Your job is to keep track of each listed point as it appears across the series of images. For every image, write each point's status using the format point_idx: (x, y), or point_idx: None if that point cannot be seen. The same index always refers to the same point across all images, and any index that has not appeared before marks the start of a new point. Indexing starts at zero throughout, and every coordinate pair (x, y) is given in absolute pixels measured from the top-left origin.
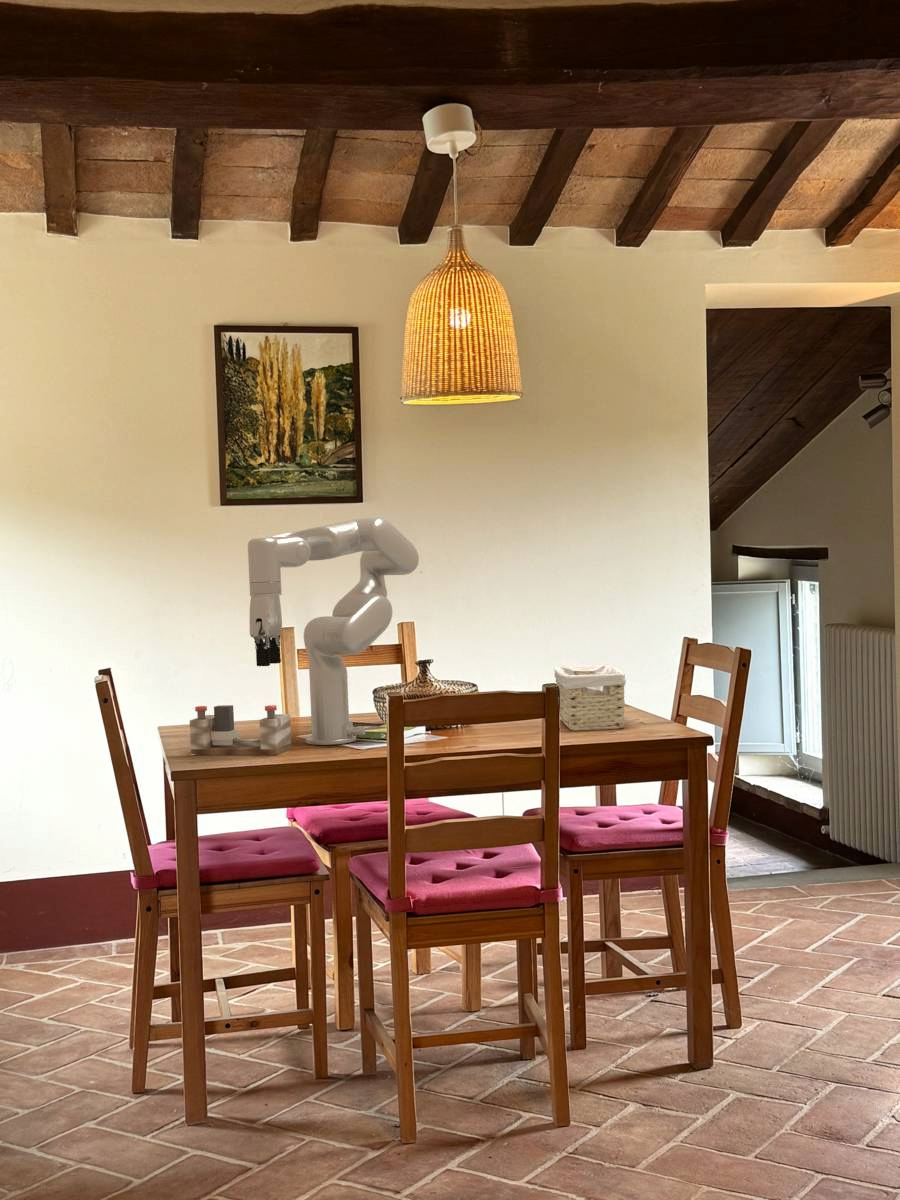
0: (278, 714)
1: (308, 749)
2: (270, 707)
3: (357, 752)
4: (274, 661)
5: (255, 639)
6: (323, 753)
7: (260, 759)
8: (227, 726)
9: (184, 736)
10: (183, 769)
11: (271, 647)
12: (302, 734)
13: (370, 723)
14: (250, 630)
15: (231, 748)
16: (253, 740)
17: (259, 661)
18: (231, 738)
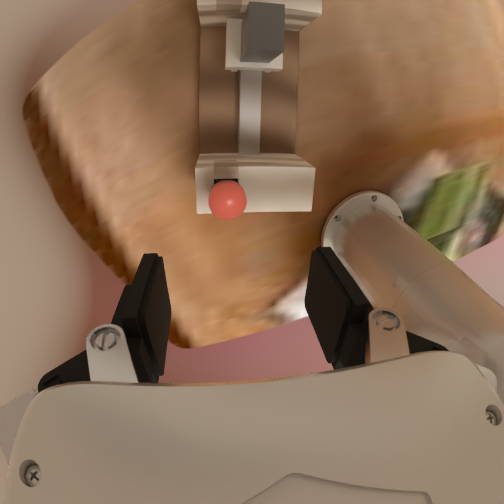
0: (312, 179)
1: (279, 222)
2: (210, 207)
3: (241, 312)
4: (309, 288)
5: (24, 401)
6: (229, 266)
7: (152, 172)
8: (241, 53)
9: None
10: (44, 83)
11: (347, 330)
12: (448, 156)
13: (495, 233)
14: (15, 442)
15: (210, 79)
16: (240, 121)
17: (127, 289)
18: (232, 69)
